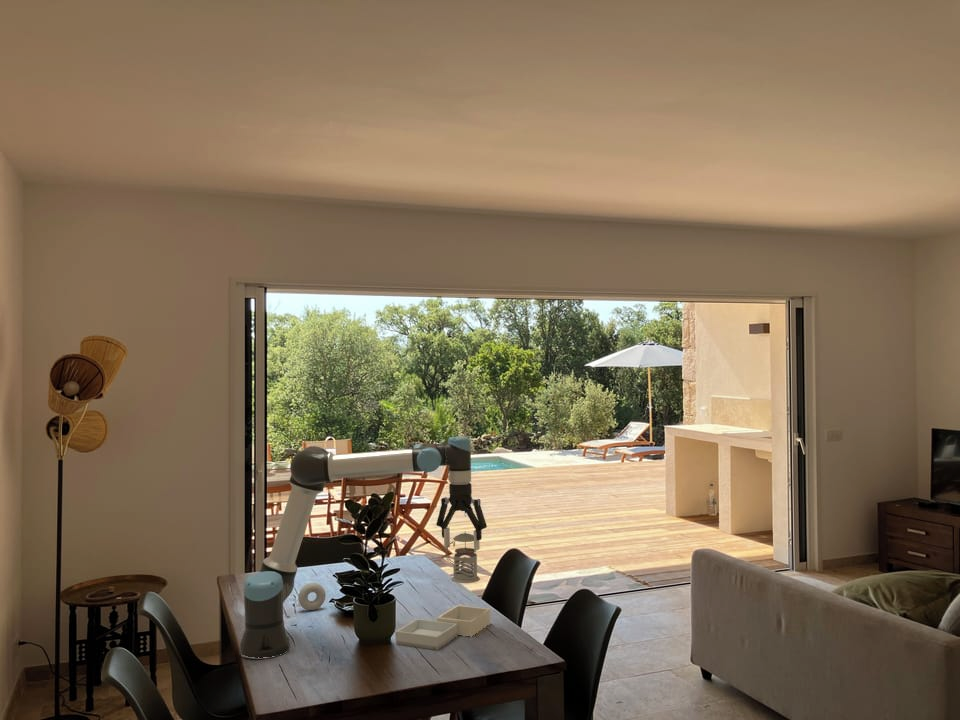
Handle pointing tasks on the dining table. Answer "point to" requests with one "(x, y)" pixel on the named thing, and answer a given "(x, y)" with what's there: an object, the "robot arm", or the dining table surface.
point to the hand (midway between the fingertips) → (461, 548)
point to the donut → (305, 592)
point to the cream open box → (467, 619)
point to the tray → (426, 634)
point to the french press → (464, 561)
